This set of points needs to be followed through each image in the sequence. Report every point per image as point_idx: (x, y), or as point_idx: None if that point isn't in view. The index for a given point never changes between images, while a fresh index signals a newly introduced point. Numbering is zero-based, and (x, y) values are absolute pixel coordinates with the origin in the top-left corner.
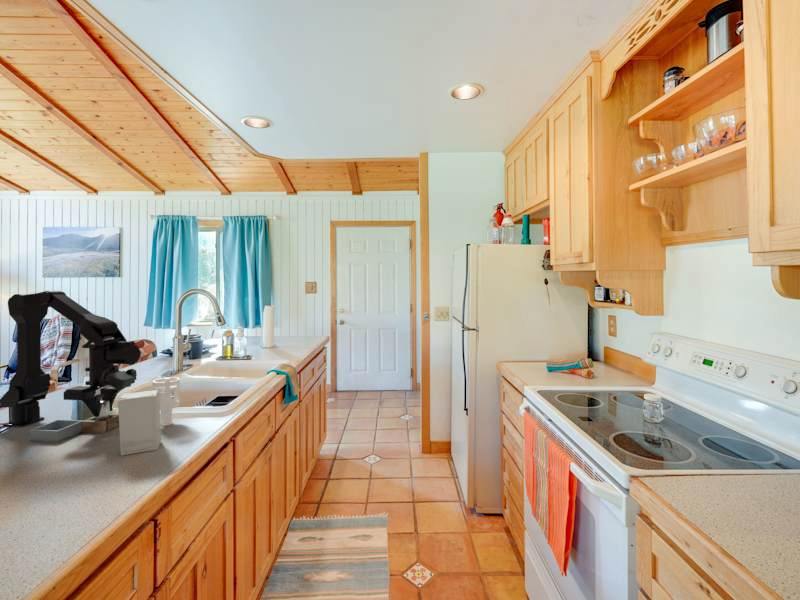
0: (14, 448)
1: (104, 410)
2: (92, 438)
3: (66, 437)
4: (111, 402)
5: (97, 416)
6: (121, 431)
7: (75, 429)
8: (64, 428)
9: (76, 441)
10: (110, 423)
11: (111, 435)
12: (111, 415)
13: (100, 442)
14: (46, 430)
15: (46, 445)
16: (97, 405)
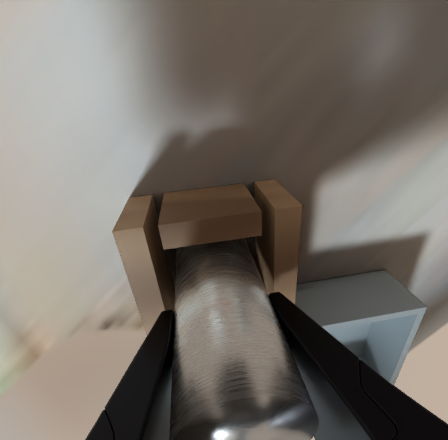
0: (418, 332)
1: (257, 307)
2: (359, 158)
3: (347, 277)
4: (148, 388)
5: (279, 293)
6: None
7: (314, 299)
8: (387, 312)
9: (390, 202)
10: (230, 199)
11: (319, 78)
12: (158, 279)
13: (432, 43)
14: (407, 347)
15: (413, 274)
16: (369, 375)
